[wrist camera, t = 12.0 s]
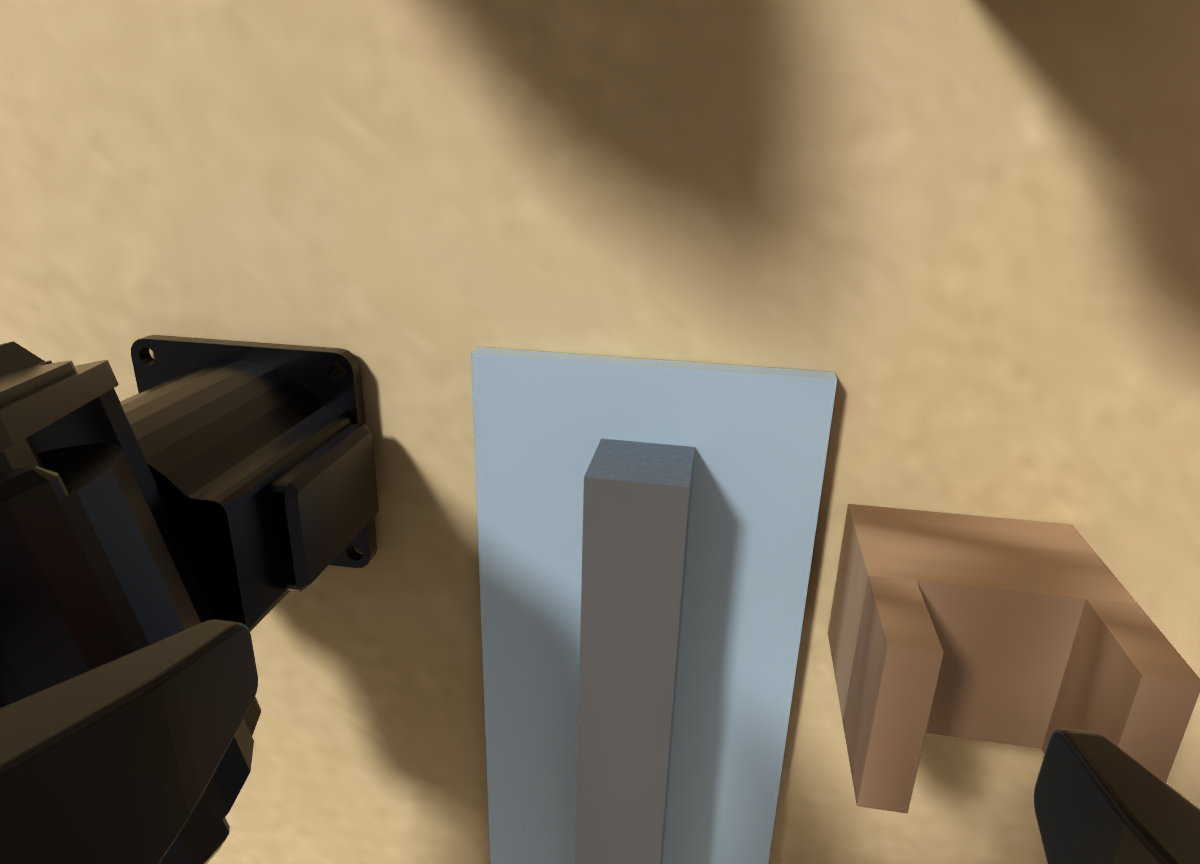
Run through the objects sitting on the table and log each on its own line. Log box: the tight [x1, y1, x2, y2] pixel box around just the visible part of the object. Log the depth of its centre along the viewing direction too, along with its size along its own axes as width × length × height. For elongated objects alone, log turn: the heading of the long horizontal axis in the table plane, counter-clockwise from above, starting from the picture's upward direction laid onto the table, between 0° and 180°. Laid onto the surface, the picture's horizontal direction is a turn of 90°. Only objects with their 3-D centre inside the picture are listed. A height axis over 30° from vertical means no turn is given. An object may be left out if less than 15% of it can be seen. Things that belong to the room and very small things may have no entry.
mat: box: [471, 347, 837, 864], centre depth 25 cm, size 9×30×1 cm, turn 179°
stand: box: [828, 504, 1200, 813], centre depth 18 cm, size 5×4×6 cm
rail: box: [575, 438, 695, 864], centre depth 24 cm, size 26×2×2 cm, turn 178°
